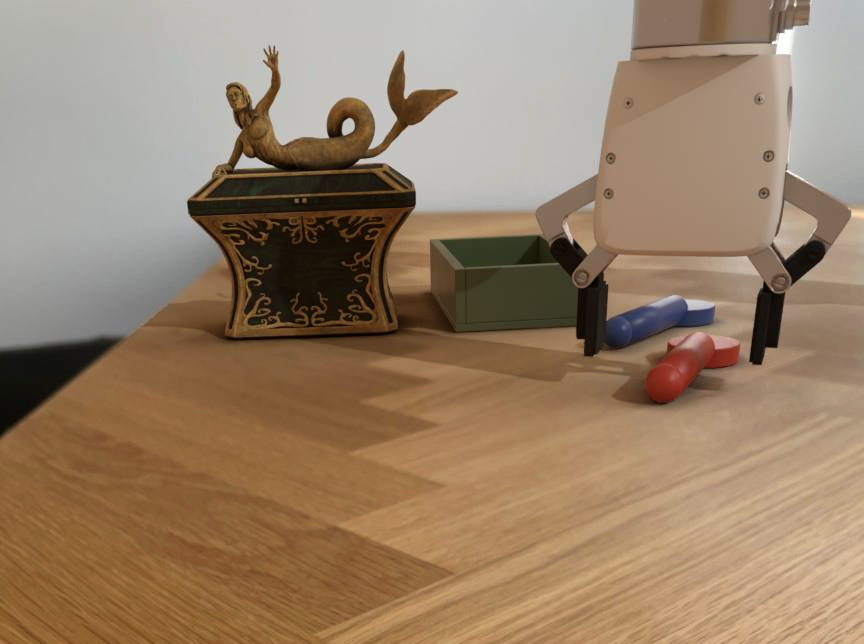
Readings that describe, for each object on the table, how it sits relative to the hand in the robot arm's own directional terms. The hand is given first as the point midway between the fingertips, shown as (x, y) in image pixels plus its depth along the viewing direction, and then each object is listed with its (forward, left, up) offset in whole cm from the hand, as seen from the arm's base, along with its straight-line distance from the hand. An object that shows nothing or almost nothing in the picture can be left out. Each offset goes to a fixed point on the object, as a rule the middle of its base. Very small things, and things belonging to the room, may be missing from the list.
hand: (673, 355), depth 63 cm
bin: (+6, -28, -2) cm, 29 cm away
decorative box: (+20, -24, -2) cm, 31 cm away
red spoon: (-2, -2, -2) cm, 3 cm away
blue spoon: (-4, -16, -2) cm, 16 cm away
